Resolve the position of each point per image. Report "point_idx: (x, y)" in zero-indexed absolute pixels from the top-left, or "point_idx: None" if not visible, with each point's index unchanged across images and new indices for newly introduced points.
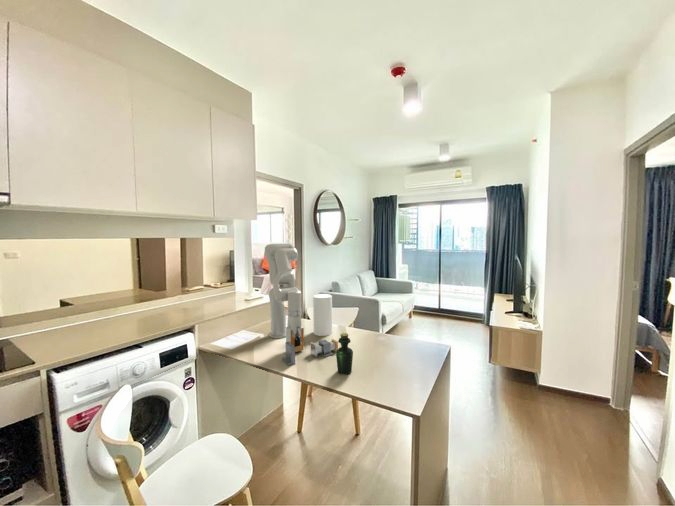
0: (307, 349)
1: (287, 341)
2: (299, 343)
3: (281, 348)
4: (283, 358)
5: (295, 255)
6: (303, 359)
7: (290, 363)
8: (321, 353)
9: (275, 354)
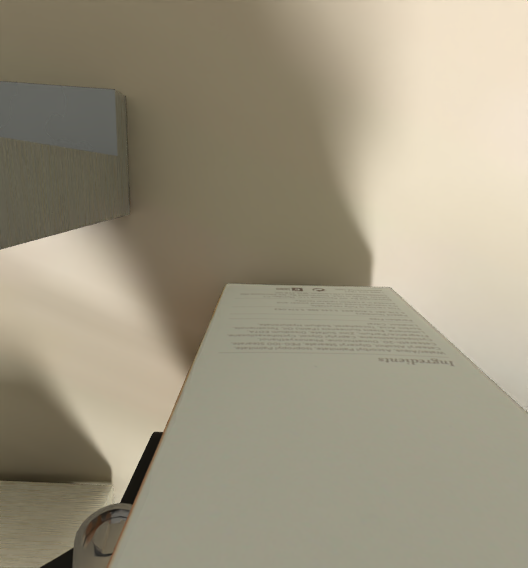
0: None
1: (373, 345)
2: None
3: (514, 263)
4: (86, 102)
5: None
6: (4, 347)
7: None
8: None
9: (377, 92)
